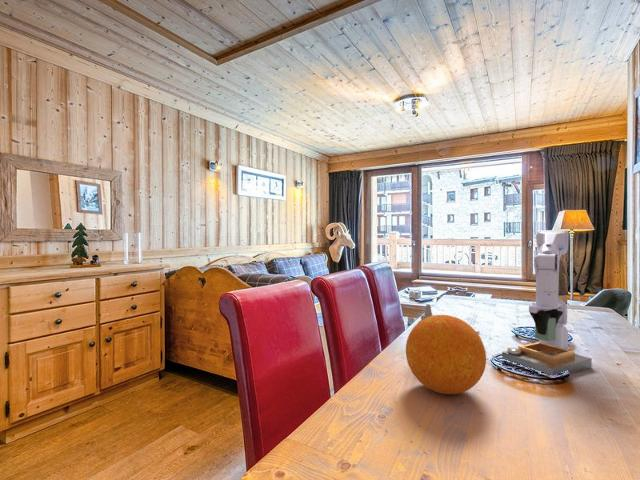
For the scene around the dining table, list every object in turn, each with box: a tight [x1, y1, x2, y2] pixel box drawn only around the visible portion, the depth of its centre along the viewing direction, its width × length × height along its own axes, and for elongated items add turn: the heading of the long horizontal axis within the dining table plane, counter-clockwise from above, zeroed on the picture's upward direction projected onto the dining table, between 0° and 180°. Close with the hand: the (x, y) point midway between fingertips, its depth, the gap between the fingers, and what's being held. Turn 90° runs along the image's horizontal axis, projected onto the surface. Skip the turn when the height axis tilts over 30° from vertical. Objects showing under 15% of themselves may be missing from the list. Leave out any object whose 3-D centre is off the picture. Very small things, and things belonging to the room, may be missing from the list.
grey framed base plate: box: [501, 341, 593, 375], centre depth 109 cm, size 20×16×5 cm
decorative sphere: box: [405, 314, 487, 395], centre depth 90 cm, size 20×20×20 cm
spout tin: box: [534, 317, 556, 341], centre depth 109 cm, size 4×4×8 cm
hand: (545, 333), depth 109 cm, fingers closed on spout tin, 4 cm apart
